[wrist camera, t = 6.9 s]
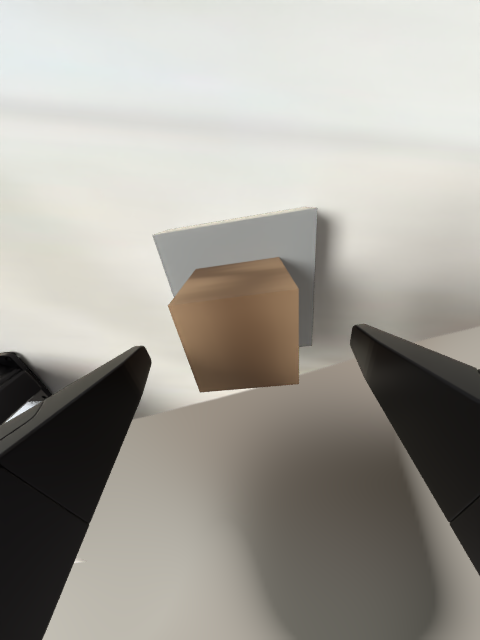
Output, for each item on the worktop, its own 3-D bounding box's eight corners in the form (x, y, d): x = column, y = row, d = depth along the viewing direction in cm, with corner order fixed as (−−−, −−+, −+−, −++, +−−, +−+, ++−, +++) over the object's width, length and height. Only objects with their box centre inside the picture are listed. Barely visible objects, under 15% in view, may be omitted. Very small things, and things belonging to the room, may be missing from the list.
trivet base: (202, 335, 18) (194, 356, 16) (170, 228, 14) (152, 235, 11) (302, 324, 17) (311, 345, 15) (303, 206, 13) (317, 207, 10)
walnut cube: (213, 336, 15) (199, 392, 10) (195, 269, 12) (168, 305, 8) (282, 328, 14) (298, 384, 10) (278, 256, 12) (298, 288, 7)
